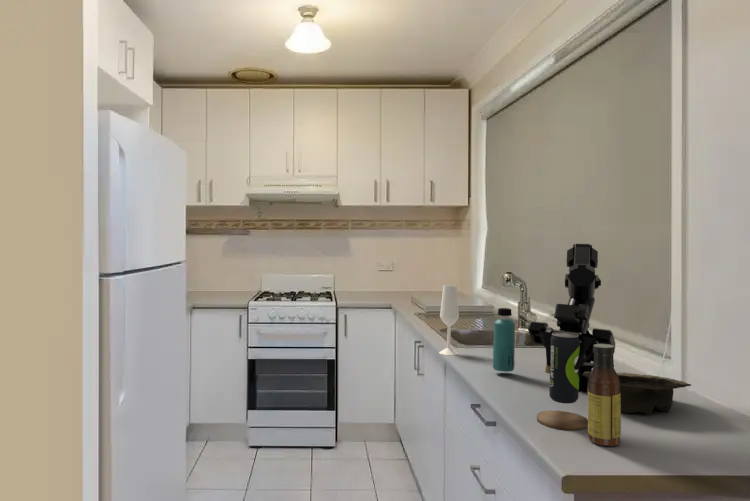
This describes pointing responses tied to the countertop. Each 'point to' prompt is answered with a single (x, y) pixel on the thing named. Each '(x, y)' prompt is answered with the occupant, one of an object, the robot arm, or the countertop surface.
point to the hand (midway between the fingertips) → (561, 367)
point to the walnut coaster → (562, 420)
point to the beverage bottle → (504, 342)
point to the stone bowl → (645, 392)
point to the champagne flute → (449, 313)
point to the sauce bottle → (604, 398)
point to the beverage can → (564, 367)
